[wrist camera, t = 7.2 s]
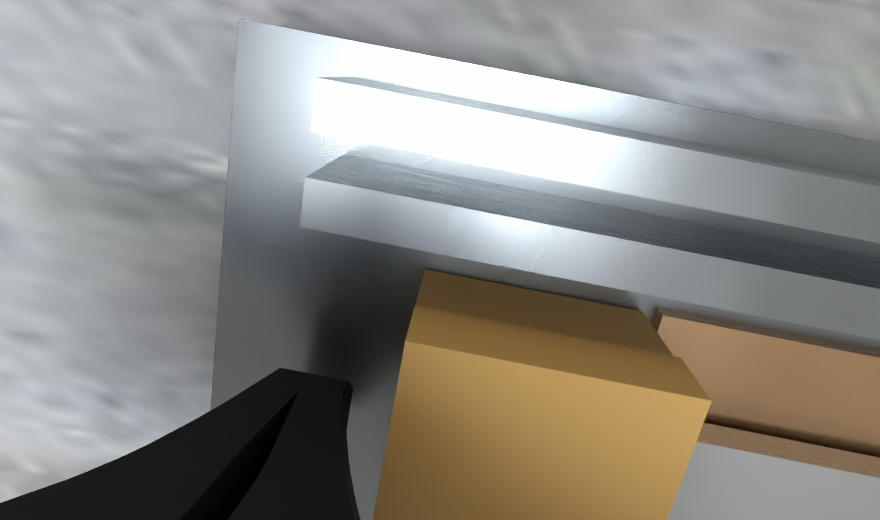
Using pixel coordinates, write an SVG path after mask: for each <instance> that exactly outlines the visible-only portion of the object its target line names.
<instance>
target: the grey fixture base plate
mask: <svg viewBox="0 0 880 520" xmlns="http://www.w3.org/2000/svg"><path fill="white" fill-rule="evenodd" d="M425 269H427V270H433V271H438V272H443V273H448V274H453V275H458V276H463V277H468V278H474V279H479V280H484V281H489V282H494V283H499V284H504V285H510V286H515V287H520V288H525V289H530V290H535V291H540V292H545V293H551V294H556V295H561V296H566V297H571V298H576V299H581V300H587V301H592V302H597V303H602V304H607V305H612V306H617V307H622V308H628V309H633V310H638V311H643V313H644V314H645V316H646V317H647V319H648V320H649V321H650V323H651V324H652V326H653V327H654V329H655V330H656V332H657V333H658V334H659V336H660V337H661V339H662V340H663V342H664V343H665V344H666V346H667V347H668V349H669V350H670V352H671V353H672V355H673V356H675V357H680V358H681V359H682V360H683V361H684V363H685V364H686V365H687V367H688V368H689V370H690V371H691V372H692V374H693V375H694V377H695V378H696V379H697V381H698V382H699V384H700V385H701V386H702V388H703V389H704V391H705V392H706V393H707V395H708V396H709V398H710V399H711V400H712V402H711V404H710V407H709V410H708V412H707V415H706V418H705V420H704V423H708V424H713V425H718V426H723V427H728V428H733V429H738V430H743V431H748V432H753V433H758V434H763V435H768V436H773V437H778V438H783V439H788V440H793V441H798V442H803V443H808V444H813V445H818V446H823V447H828V448H833V449H839V450H844V451H849V452H854V453H859V454H864V455H869V456H874V457H879V458H880V143H877V142H872V141H867V140H862V139H856V138H851V137H846V136H841V135H836V134H831V133H826V132H820V131H815V130H810V129H805V128H800V127H795V126H789V125H784V124H779V123H774V122H769V121H764V120H759V119H753V118H748V117H743V116H738V115H733V114H728V113H723V112H717V111H712V110H707V109H702V108H697V107H692V106H687V105H681V104H676V103H671V102H666V101H661V100H656V99H650V98H645V97H640V96H635V95H630V94H625V93H620V92H614V91H609V90H604V89H599V88H594V87H589V86H584V85H578V84H573V83H568V82H563V81H558V80H553V79H548V78H542V77H537V76H532V75H527V74H522V73H517V72H511V71H506V70H501V69H496V68H491V67H486V66H481V65H475V64H470V63H465V62H460V61H455V60H450V59H445V58H439V57H434V56H429V55H424V54H419V53H414V52H409V51H403V50H398V49H393V48H388V47H383V46H378V45H373V44H367V43H362V42H357V41H352V40H347V39H342V38H336V37H331V36H326V35H321V34H316V33H311V32H306V31H300V30H295V29H290V28H285V27H280V26H275V25H270V24H264V23H259V22H254V21H249V20H244V19H238V33H237V47H236V61H235V75H234V89H233V103H232V117H231V132H230V146H229V160H228V174H227V188H226V202H225V216H224V230H223V244H222V258H221V272H220V286H219V301H218V315H217V329H216V343H215V357H214V371H213V385H212V399H211V410H213V409H214V408H216V407H218V406H219V405H221V404H223V403H224V402H226V401H228V400H229V399H231V398H232V397H234V396H236V395H237V394H239V393H240V392H242V391H244V390H245V389H247V388H248V387H250V386H252V385H253V384H255V383H256V382H258V381H260V380H261V379H263V378H264V377H266V376H268V375H269V374H271V373H273V372H274V371H276V370H278V369H279V368H285V369H290V370H295V371H300V372H305V373H310V374H315V375H321V376H326V377H331V378H336V379H341V380H346V381H349V383H350V384H351V386H352V387H353V393H352V399H351V405H350V412H349V418H348V424H347V444H348V456H349V464H350V472H351V477H352V483H353V489H354V494H355V499H356V503H357V507H358V512H359V516H360V519H361V520H373V514H374V509H375V503H376V498H377V492H378V487H379V481H380V476H381V470H382V465H383V459H384V454H385V449H386V443H387V438H388V432H389V427H390V421H391V416H392V410H393V405H394V399H395V394H396V388H397V383H398V377H399V372H400V367H401V361H402V356H403V350H404V345H405V340H406V336H407V332H408V329H409V325H410V321H411V318H412V314H413V310H414V306H415V305H416V301H417V297H418V293H419V290H420V286H421V282H422V278H423V275H424V271H425Z"/></svg>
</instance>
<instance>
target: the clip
mask: <svg viewBox="0 0 880 520" xmlns="http://www.w3.org/2000/svg"><path fill="white" fill-rule="evenodd" d="M711 402H712V400H711V399H710V398H709V396H708V395H707V393H706V392H705V391H704V389H703V388H702V386H701V385H700V384H699V382H698V381H697V379H696V378H695V377H694V375H693V374H692V372H691V371H690V370H689V368H688V367H687V365H686V364H685V363H684V361H683V360H682V359H681V358H680V357H675V356H673V355H672V353H671V352H670V350H669V349H668V347H667V346H666V344H665V343H664V342H663V340H662V339H661V337H660V336H659V334H658V333H657V332H656V330H655V329H654V327H653V326H652V324H651V323H650V321H649V320H648V319H647V317H646V316H645V314H644V313H643V311H638V310H633V309H628V308H622V307H617V306H612V305H607V304H602V303H597V302H592V301H587V300H581V299H576V298H571V297H566V296H561V295H556V294H551V293H545V292H540V291H535V290H530V289H525V288H520V287H515V286H510V285H504V284H499V283H494V282H489V281H484V280H479V279H474V278H468V277H463V276H458V275H453V274H448V273H443V272H438V271H433V270H427V269H425V271H424V275H423V278H422V282H421V286H420V290H419V293H418V297H417V301H416V305H415V306H414V310H413V314H412V318H411V321H410V325H409V329H408V332H407V336H406V340H405V345H404V350H403V356H402V361H401V367H400V372H399V377H398V383H397V388H396V394H395V399H394V405H393V410H392V416H391V421H390V427H389V432H388V438H387V443H386V449H385V454H384V459H383V465H382V470H381V476H380V481H379V487H378V492H377V498H376V503H375V509H374V514H373V520H667V518H668V516H669V513H670V510H671V508H672V505H673V502H674V500H675V497H676V494H677V492H678V489H679V486H680V484H681V481H682V478H683V476H684V473H685V471H686V468H687V465H688V463H689V460H690V457H691V455H692V452H693V449H694V447H695V444H696V441H697V439H698V436H699V433H700V431H701V428H702V426H703V423H704V420H705V418H706V415H707V412H708V410H709V407H710V404H711Z"/></svg>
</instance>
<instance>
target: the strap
mask: <svg viewBox="0 0 880 520" xmlns="http://www.w3.org/2000/svg"><path fill="white" fill-rule="evenodd" d="M667 520H880V458H879V457H874V456H869V455H864V454H859V453H854V452H849V451H844V450H839V449H833V448H828V447H823V446H818V445H813V444H808V443H803V442H798V441H793V440H788V439H783V438H778V437H773V436H768V435H763V434H758V433H753V432H748V431H743V430H738V429H733V428H728V427H723V426H718V425H713V424H708V423H703V426H702V428H701V431H700V433H699V436H698V439H697V441H696V444H695V447H694V449H693V452H692V455H691V457H690V460H689V463H688V465H687V468H686V471H685V473H684V476H683V478H682V481H681V484H680V486H679V489H678V492H677V494H676V497H675V500H674V502H673V505H672V508H671V510H670V513H669V516H668V518H667Z"/></svg>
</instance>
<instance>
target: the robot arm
mask: <svg viewBox="0 0 880 520" xmlns="http://www.w3.org/2000/svg"><path fill="white" fill-rule="evenodd" d="M352 393H353V387H352V386H351V384H350V383H349V381H346V380H341V379H336V378H331V377H326V376H321V375H315V374H310V373H305V372H300V371H295V370H290V369H285V368H279V369H278V370H276V371H274V372H273V373H271V374H269V375H268V376H266V377H264V378H263V379H261V380H260V381H258V382H256V383H255V384H253V385H252V386H250V387H248V388H247V389H245V390H244V391H242V392H240V393H239V394H237V395H236V396H234V397H232V398H231V399H229V400H228V401H226V402H224V403H223V404H221V405H219V406H218V407H216V408H214V409H213V410H211V411H209V412H208V413H206V414H204V415H202V416H201V417H199V418H197V419H195V420H193V421H192V422H190V423H188V424H186V425H184V426H182V427H180V428H178V429H177V430H175V431H173V432H171V433H169V434H167V435H165V436H163V437H162V438H160V439H158V440H156V441H154V442H152V443H150V444H148V445H146V446H144V447H142V448H140V449H138V450H136V451H134V452H131V453H129V454H127V455H125V456H123V457H120V458H118V459H116V460H114V461H111V462H109V463H106V464H104V465H102V466H99V467H97V468H95V469H92V470H90V471H88V472H85V473H83V474H80V475H78V476H75V477H73V478H70V479H67V480H65V481H62V482H59V483H56V484H53V485H50V486H48V487H45V488H42V489H39V490H36V491H33V492H30V493H28V494H25V495H22V496H19V497H16V498H13V499H11V500H8V501H5V502H2V503H0V520H361V519H360V516H359V512H358V507H357V503H356V499H355V494H354V489H353V483H352V477H351V472H350V464H349V456H348V444H347V424H348V418H349V412H350V405H351V399H352Z"/></svg>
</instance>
